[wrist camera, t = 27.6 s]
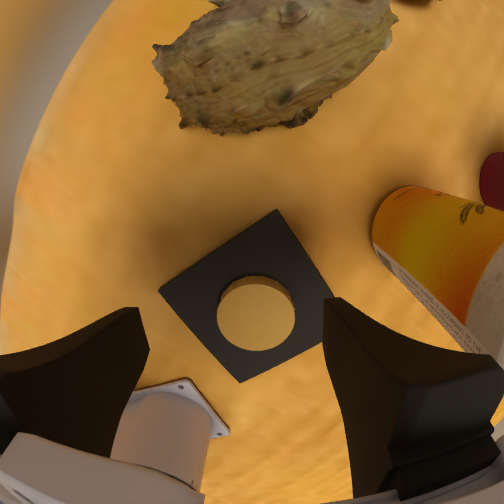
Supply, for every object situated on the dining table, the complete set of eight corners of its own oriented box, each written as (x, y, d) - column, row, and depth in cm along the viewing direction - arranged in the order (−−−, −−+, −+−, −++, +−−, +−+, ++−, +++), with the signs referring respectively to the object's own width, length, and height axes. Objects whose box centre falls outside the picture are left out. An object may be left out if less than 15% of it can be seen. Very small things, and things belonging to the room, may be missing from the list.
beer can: (453, 227, 19) (608, 318, 5) (401, 285, 20) (521, 432, 6) (408, 166, 18) (603, 209, 3) (350, 229, 19) (493, 377, 5)
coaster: (240, 379, 23) (239, 383, 23) (159, 287, 21) (157, 291, 21) (349, 321, 21) (351, 325, 21) (276, 208, 19) (277, 210, 19)
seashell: (381, 29, 16) (446, -43, 6) (288, 190, 18) (326, 191, 9) (249, -33, 15) (246, -123, 5) (140, 112, 17) (52, 61, 8)
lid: (294, 273, 20) (296, 282, 18) (293, 339, 21) (294, 350, 20) (216, 275, 20) (212, 284, 19) (222, 340, 22) (220, 351, 20)
